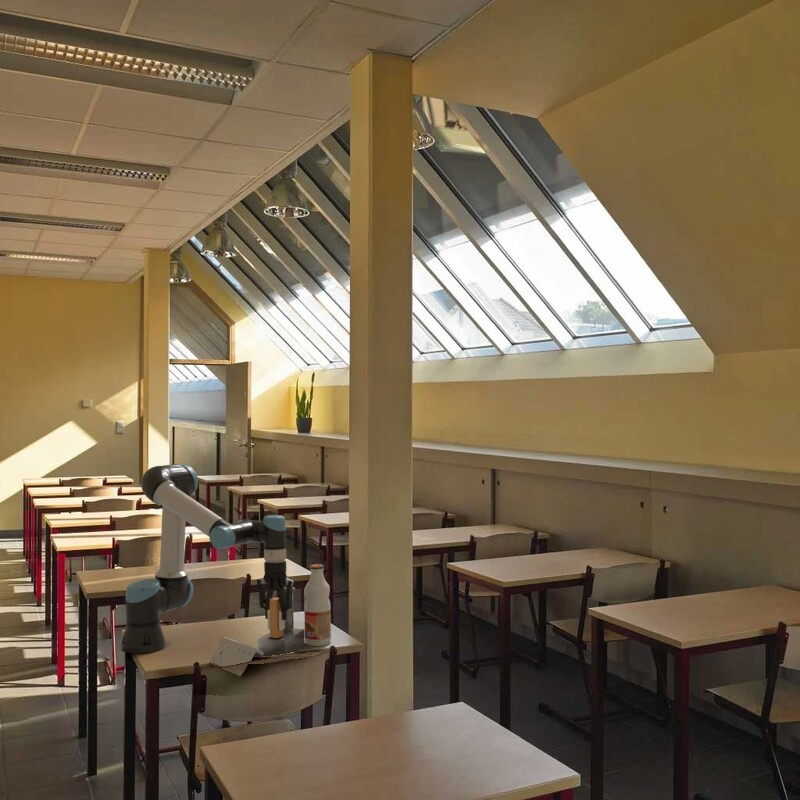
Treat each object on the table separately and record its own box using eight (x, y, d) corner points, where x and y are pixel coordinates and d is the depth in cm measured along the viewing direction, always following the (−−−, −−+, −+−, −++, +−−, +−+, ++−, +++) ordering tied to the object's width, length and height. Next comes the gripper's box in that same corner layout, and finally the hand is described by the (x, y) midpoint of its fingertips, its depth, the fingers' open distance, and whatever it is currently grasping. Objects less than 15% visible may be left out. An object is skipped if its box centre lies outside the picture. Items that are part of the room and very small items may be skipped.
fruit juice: (330, 646, 293) (329, 567, 294) (304, 647, 293) (303, 568, 293) (331, 639, 303) (330, 562, 303) (305, 639, 302) (304, 563, 302)
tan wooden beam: (270, 637, 283) (269, 599, 283) (275, 634, 286) (275, 597, 286) (276, 638, 281) (276, 600, 282) (282, 636, 284) (281, 598, 284)
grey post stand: (258, 656, 282) (257, 595, 282) (279, 644, 297) (278, 585, 297) (285, 659, 279) (284, 596, 279) (304, 646, 294) (303, 587, 294)
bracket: (255, 647, 264) (224, 635, 279) (239, 677, 260) (208, 663, 275) (283, 665, 271) (251, 652, 286) (267, 694, 267) (235, 679, 282)
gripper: (248, 561, 283) (249, 630, 282) (292, 563, 278) (293, 633, 277) (258, 558, 290) (259, 624, 290) (302, 559, 285) (302, 627, 285)
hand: (276, 628), depth 283 cm, fingers closed on tan wooden beam, 4 cm apart
